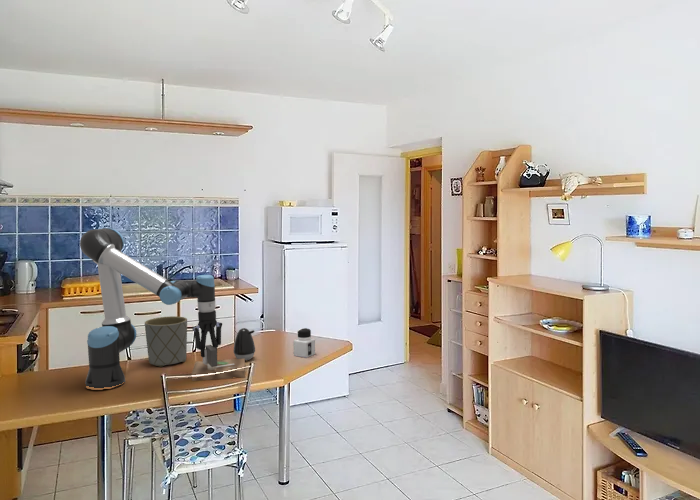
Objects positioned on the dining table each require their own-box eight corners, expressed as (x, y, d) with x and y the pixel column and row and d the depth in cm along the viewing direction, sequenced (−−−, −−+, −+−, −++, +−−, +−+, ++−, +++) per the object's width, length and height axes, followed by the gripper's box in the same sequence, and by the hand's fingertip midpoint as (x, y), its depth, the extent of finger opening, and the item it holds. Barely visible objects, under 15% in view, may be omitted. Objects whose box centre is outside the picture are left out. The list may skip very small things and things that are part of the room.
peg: (210, 372, 227) (209, 351, 226) (204, 366, 236) (204, 345, 235) (237, 368, 233) (237, 347, 232) (231, 362, 242) (230, 342, 241)
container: (315, 354, 264) (315, 328, 263) (306, 358, 258) (305, 331, 257) (303, 351, 269) (302, 326, 267) (293, 355, 262) (292, 329, 261)
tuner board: (191, 380, 226) (191, 373, 226) (195, 368, 244) (195, 361, 244) (244, 377, 231) (244, 369, 230) (244, 364, 248) (244, 358, 248)
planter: (155, 370, 241) (154, 327, 239) (140, 361, 255) (138, 320, 253) (195, 362, 253) (194, 320, 251) (178, 353, 268) (177, 314, 266)
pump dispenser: (251, 362, 251) (250, 331, 250) (230, 361, 253) (229, 330, 252) (258, 356, 261) (258, 326, 260) (238, 355, 263) (238, 325, 262)
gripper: (193, 314, 225) (196, 369, 227) (228, 308, 236) (230, 360, 238) (185, 312, 230) (188, 365, 232) (219, 306, 241) (221, 356, 244)
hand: (209, 362), depth 235 cm, fingers open, 3 cm apart
